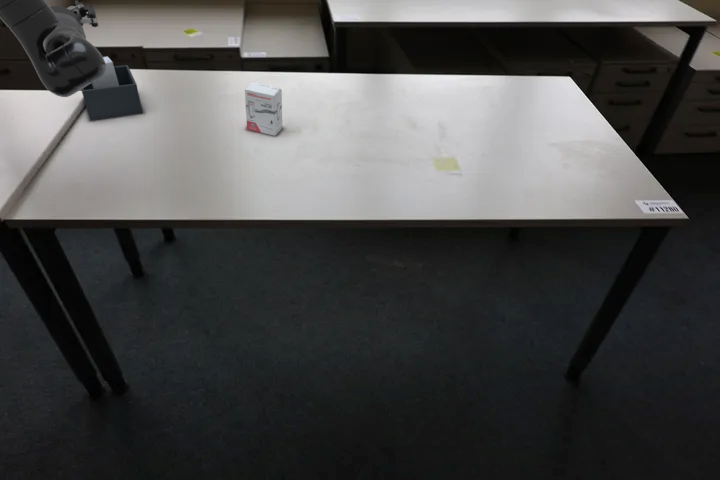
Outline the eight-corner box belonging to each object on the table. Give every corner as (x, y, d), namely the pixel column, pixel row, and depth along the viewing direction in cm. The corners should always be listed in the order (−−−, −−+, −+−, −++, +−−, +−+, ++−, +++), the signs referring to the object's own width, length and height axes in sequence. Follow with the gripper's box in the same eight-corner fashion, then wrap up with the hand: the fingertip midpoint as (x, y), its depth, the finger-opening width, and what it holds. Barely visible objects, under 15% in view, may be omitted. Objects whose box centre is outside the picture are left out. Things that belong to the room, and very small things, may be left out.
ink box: (245, 129, 139) (242, 88, 131) (253, 121, 143) (251, 80, 135) (275, 136, 138) (274, 95, 130) (282, 128, 141) (282, 87, 133)
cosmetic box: (119, 97, 145) (108, 55, 137) (124, 103, 142) (113, 61, 134) (97, 102, 142) (84, 60, 134) (101, 109, 139) (88, 65, 132)
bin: (90, 120, 136) (81, 91, 131) (84, 99, 144) (75, 70, 139) (142, 113, 141) (136, 84, 136) (133, 92, 150) (127, 64, 144)
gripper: (98, 10, 98) (87, -15, 109) (12, 16, 92) (9, -11, 103) (107, 49, 103) (96, 22, 113) (26, 57, 97) (22, 27, 108)
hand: (54, 6), depth 108 cm, fingers open, 8 cm apart
